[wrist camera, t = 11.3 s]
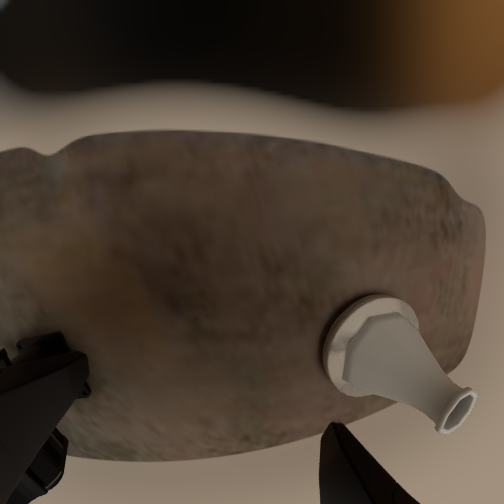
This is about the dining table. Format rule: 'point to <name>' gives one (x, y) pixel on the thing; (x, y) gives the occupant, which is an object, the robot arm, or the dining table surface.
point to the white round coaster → (349, 327)
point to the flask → (405, 371)
